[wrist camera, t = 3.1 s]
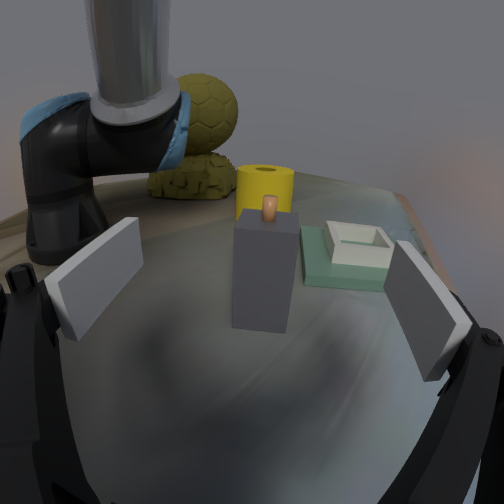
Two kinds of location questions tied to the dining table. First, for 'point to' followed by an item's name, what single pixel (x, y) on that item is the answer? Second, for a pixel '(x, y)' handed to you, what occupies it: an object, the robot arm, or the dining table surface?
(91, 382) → the dining table surface
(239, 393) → the dining table surface
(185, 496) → the dining table surface
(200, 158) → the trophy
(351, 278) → the board
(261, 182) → the yellow hollow cylinder
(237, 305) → the plug
